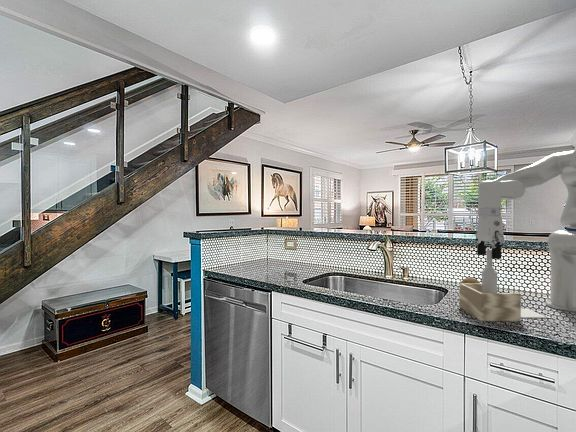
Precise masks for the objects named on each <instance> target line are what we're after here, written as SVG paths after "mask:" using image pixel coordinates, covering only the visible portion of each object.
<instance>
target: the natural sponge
mask: <svg viewBox="0 0 576 432" xmlns="http://www.w3.org/2000/svg"><path fill="white" fill-rule="evenodd" d="M460 283H481V282H480V280H478V279H476V278H475V277H466V278H464V279H462V280H461V282H460Z"/></svg>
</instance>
